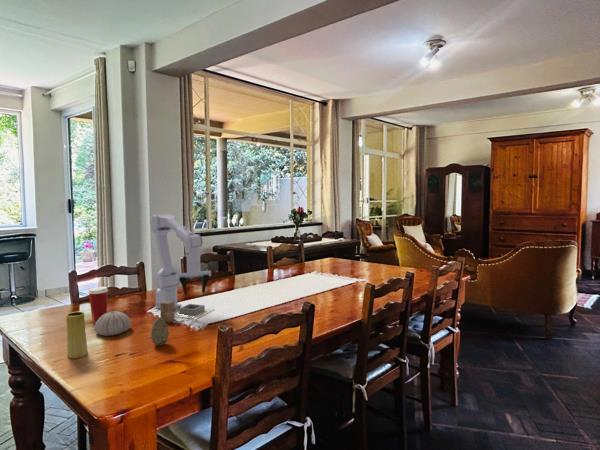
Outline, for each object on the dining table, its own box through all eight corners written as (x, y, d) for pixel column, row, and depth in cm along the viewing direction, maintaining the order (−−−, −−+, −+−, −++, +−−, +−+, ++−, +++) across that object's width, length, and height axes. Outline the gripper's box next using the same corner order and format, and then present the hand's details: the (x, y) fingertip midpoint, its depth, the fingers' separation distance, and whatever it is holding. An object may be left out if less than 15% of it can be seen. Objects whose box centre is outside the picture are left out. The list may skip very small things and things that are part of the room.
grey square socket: (169, 317, 179) (169, 309, 179) (188, 308, 192) (188, 301, 192) (196, 320, 175) (196, 312, 174) (214, 311, 188) (213, 304, 188)
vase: (72, 351, 141) (70, 311, 139) (91, 351, 141) (88, 310, 140) (63, 359, 135) (61, 316, 133) (83, 358, 135) (80, 316, 134)
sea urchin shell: (96, 340, 151) (95, 319, 151) (92, 330, 163) (91, 310, 162) (134, 333, 158) (133, 313, 158) (128, 324, 170) (127, 305, 169)
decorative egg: (152, 349, 142) (150, 321, 141) (150, 343, 148) (149, 316, 147) (169, 346, 144) (168, 319, 144) (168, 340, 150) (167, 314, 149)
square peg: (160, 321, 172) (160, 302, 172) (166, 318, 176) (166, 300, 175) (168, 322, 171) (168, 303, 170) (174, 319, 175) (174, 301, 174)
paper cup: (113, 318, 177) (112, 287, 175) (99, 324, 169) (97, 291, 168) (99, 317, 179) (97, 285, 178) (85, 322, 172) (83, 289, 171)
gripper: (177, 265, 170) (178, 297, 171) (212, 262, 176) (213, 293, 177) (175, 262, 177) (176, 293, 178) (208, 260, 183) (209, 289, 184)
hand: (194, 293), depth 178 cm, fingers open, 7 cm apart
